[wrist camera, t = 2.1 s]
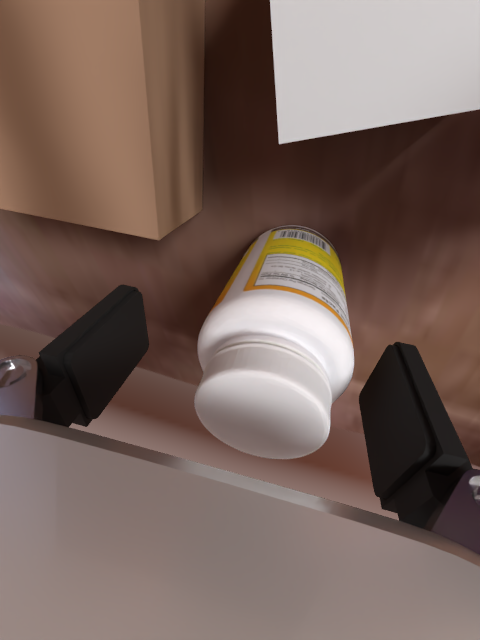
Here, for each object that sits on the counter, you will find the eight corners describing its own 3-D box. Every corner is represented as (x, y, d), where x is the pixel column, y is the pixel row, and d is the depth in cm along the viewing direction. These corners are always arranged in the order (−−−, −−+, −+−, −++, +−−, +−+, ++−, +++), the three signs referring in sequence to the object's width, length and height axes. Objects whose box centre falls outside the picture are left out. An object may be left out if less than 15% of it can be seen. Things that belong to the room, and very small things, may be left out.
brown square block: (205, -55, 10) (123, -182, 6) (202, 209, 15) (159, 240, 11) (-8, -63, 11) (-199, -171, 7) (60, 184, 16) (-24, 203, 12)
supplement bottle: (265, 319, 18) (220, 473, 10) (228, 243, 16) (129, 368, 8) (353, 296, 16) (384, 476, 8) (325, 203, 13) (327, 323, 5)
